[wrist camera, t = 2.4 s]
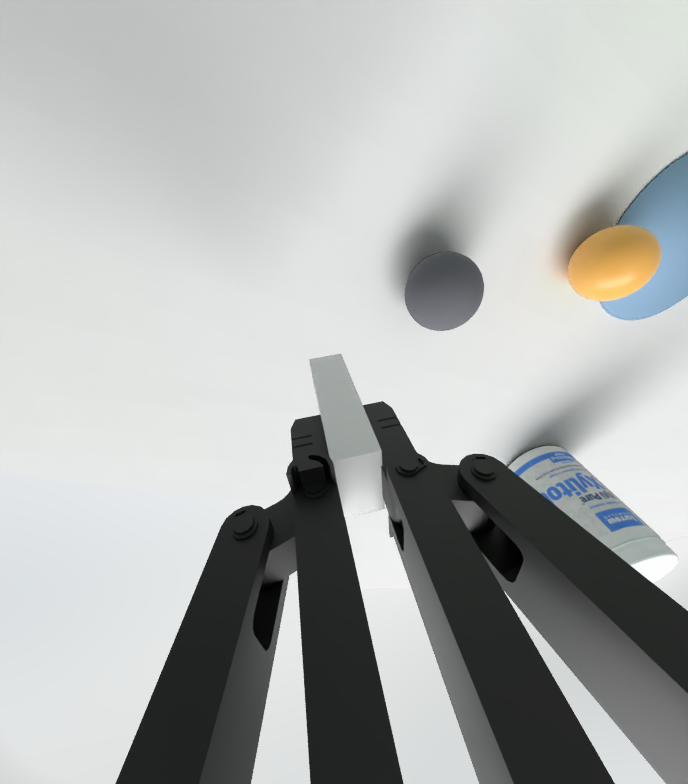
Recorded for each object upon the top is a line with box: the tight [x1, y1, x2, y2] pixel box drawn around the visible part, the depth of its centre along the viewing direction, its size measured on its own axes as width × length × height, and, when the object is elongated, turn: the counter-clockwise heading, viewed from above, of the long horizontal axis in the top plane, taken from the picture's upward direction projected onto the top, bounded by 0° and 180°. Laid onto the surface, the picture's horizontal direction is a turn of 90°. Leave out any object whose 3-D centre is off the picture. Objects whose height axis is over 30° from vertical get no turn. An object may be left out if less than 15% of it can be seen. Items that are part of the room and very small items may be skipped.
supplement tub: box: [508, 446, 678, 583], centre depth 36 cm, size 10×10×15 cm
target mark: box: [600, 154, 688, 320], centre depth 27 cm, size 14×14×1 cm
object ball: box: [568, 225, 661, 301], centre depth 24 cm, size 6×6×6 cm
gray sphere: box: [405, 252, 484, 331], centre depth 23 cm, size 6×6×6 cm
